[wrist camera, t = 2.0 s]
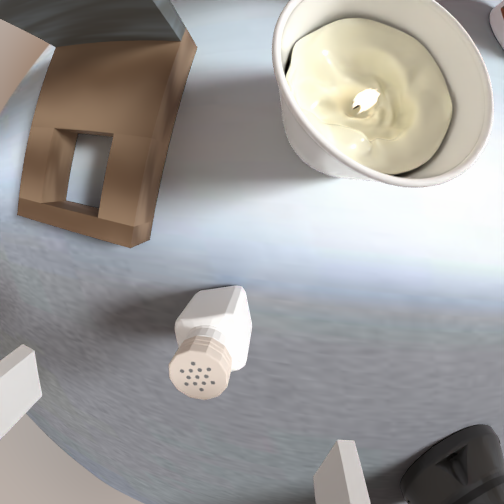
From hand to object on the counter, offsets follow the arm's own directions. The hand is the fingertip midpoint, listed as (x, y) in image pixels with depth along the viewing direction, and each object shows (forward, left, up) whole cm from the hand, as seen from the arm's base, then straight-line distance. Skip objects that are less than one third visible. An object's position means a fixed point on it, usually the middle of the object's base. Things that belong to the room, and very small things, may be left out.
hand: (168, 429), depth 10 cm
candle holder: (+16, -5, -14) cm, 22 cm away
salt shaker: (0, 0, -14) cm, 14 cm away
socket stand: (+12, +13, -14) cm, 22 cm away
